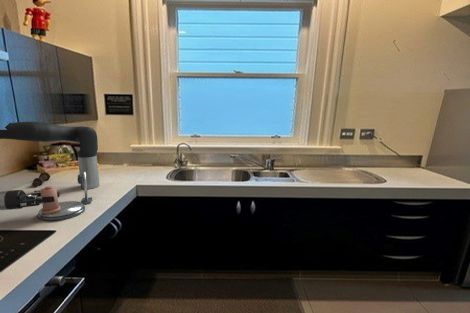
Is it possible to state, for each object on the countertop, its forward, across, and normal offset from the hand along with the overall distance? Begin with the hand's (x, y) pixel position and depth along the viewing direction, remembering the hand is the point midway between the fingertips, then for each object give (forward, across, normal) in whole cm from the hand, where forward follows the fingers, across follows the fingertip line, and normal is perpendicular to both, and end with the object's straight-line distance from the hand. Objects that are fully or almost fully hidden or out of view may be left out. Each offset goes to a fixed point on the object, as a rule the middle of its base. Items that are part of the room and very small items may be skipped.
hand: (56, 196), depth 114 cm
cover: (-3, 0, +6) cm, 7 cm away
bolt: (-25, +52, +9) cm, 59 cm away
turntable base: (0, +3, +8) cm, 9 cm away
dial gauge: (+7, +14, +8) cm, 18 cm away
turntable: (0, +3, +7) cm, 8 cm away
